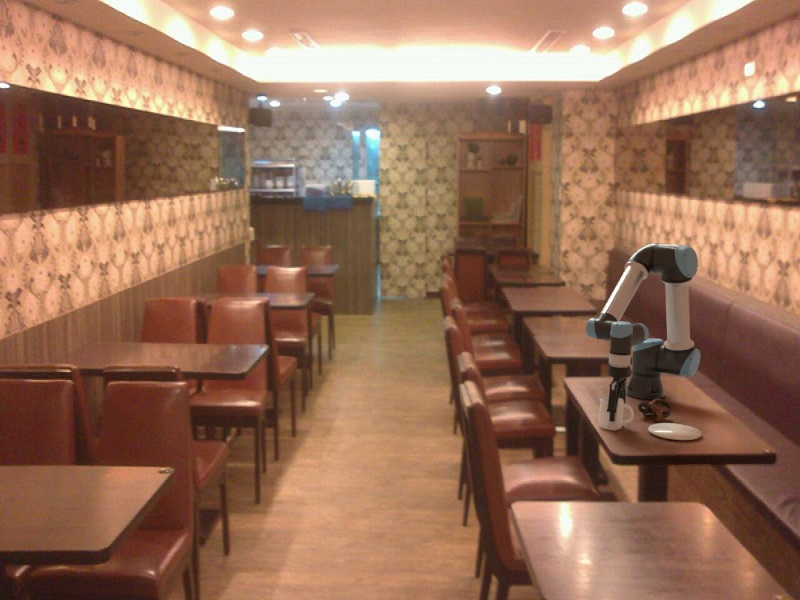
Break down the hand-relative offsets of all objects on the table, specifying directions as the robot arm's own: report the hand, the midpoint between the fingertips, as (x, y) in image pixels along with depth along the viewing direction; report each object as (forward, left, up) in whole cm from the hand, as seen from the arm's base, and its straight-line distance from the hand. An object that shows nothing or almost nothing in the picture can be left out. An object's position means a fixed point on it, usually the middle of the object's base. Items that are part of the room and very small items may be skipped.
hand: (615, 426), depth 334 cm
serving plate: (-4, +20, 0) cm, 20 cm away
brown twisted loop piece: (-20, +9, -1) cm, 22 cm away
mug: (0, 0, -1) cm, 1 cm away
